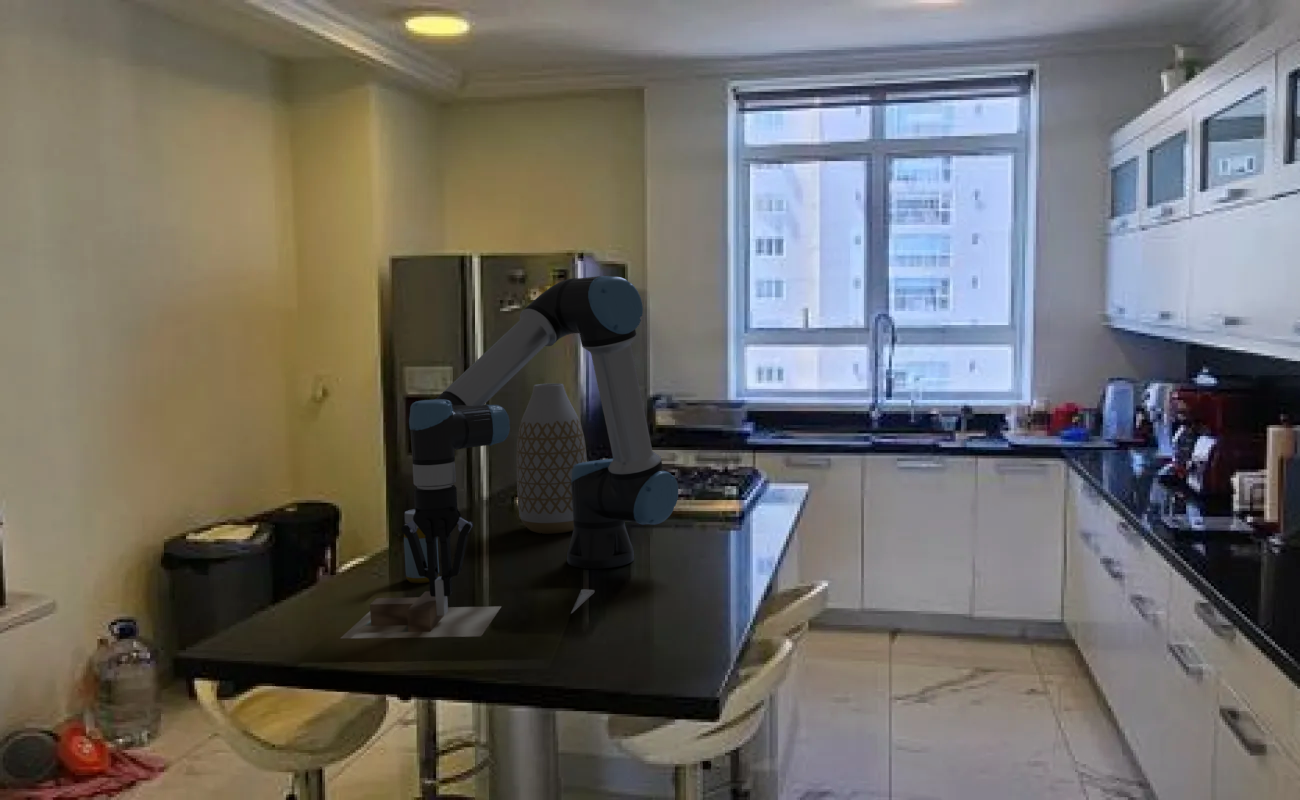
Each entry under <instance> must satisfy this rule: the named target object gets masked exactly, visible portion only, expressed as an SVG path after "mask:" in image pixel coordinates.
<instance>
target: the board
mask: <svg viewBox="0 0 1300 800" xmlns="http://www.w3.org/2000/svg"><path fill="white" fill-rule="evenodd" d="M501 608H502V606H501V605H499V606H455V607H454V606H451V607H449V606H448V612H447V613H446V614H445V615H444V616H443V618H442V619H441V620H440V621H439V622H438V624H437V625H436V626H435V627H434V628H433V630H432V631H431V632H408V625H397V626H371V614H370V611H369V612H367V613H366V614H365V615H364V616H363V617H362V618H361V619H360V620H359V621H357V622H356V623H355V624H354V625H353V626H352V627H351V628H350V629H348V631H346V632H345V633H344V634H343V635H342V636H341V637H340V640H342V639H343V640H344V639H349V640H350V639H352V640H353V639H401V638H402V639H408V638H409V639H411V638H415V639H416V638H462V637H463V638H464V637H465V638H471V637H472V638H473V637H476V638H477V637H482V636H483V634H484V633H485V632H486V630H487V629H488V628H489V626H490V625H491V623H492V621H493V620H494V619H495V617H496V616H497V614H498V613H499V611H500V609H501Z"/></svg>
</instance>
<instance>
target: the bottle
mask: <svg viewBox="0 0 1300 800" xmlns="http://www.w3.org/2000/svg"><path fill="white" fill-rule="evenodd" d="M414 514H415V508H413V509H409V510H406V511H404V525H405V524H407V523H409V522H411V521H412V520H413V516H414ZM416 527H417V531H416V532H417V534H418V537H419V541H420V544H421V547H422V550H423V554H424V557H425V560H426V563H427V567H428V562H427V545H426V541H425V535H424V534H423V532H422V531H421V530H420V529H419V527H418V526H417V525H416ZM436 542H437V560H438V572H439V574H438V577H440V566H439V565H440V564H439V545H438V539H437V540H436ZM403 546H404V547H403V549H404V563H405V564H404V565H405V578H406V580H407V581H408V582H409V583H412V584H426V583H429V579H428V578H426V577H424V576H423V577H421V576H419V574H418V571H417V568H416V564H415V561H414V558H413V555H412V551H411V548H410V545H409V542H408V538H407V537H406V536H405V534H404V533H403Z"/></svg>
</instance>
